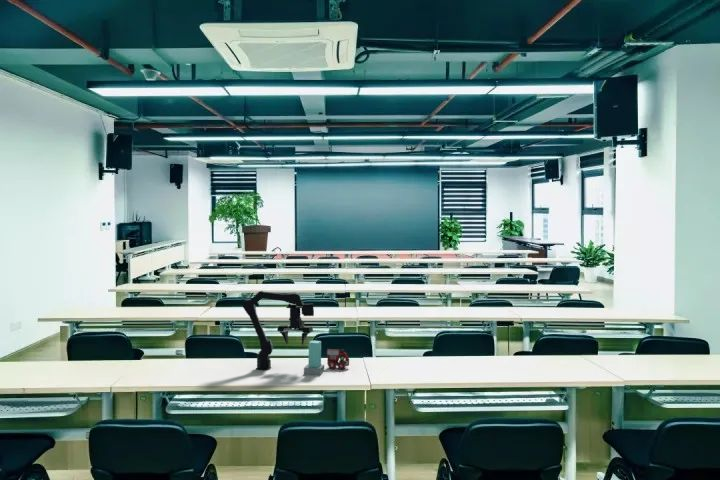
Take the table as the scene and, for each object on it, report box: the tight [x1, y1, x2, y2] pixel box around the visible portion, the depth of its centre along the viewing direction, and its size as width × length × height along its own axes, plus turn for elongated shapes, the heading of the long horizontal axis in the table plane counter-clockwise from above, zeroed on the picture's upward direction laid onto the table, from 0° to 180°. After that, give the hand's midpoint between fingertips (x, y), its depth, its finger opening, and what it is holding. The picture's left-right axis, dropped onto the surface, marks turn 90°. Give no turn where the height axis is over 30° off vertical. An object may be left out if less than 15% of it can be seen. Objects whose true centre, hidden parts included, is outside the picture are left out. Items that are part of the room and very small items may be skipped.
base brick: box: [303, 363, 325, 376], centre depth 331 cm, size 9×9×4 cm
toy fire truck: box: [326, 348, 350, 371], centre depth 343 cm, size 7×12×10 cm, turn 82°
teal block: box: [308, 340, 322, 368], centre depth 330 cm, size 5×5×13 cm
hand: (295, 344), depth 342 cm, fingers open, 9 cm apart
